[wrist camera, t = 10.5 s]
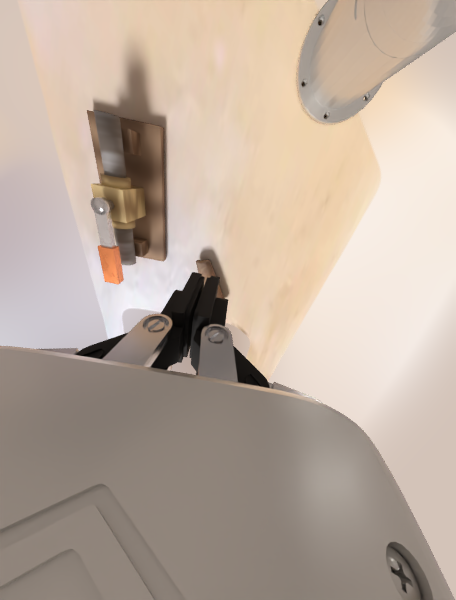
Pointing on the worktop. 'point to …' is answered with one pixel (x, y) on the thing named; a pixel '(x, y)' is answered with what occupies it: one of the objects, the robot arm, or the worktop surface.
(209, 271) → the pipe
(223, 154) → the worktop surface
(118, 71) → the worktop surface
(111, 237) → the valve lever
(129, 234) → the valve stand
